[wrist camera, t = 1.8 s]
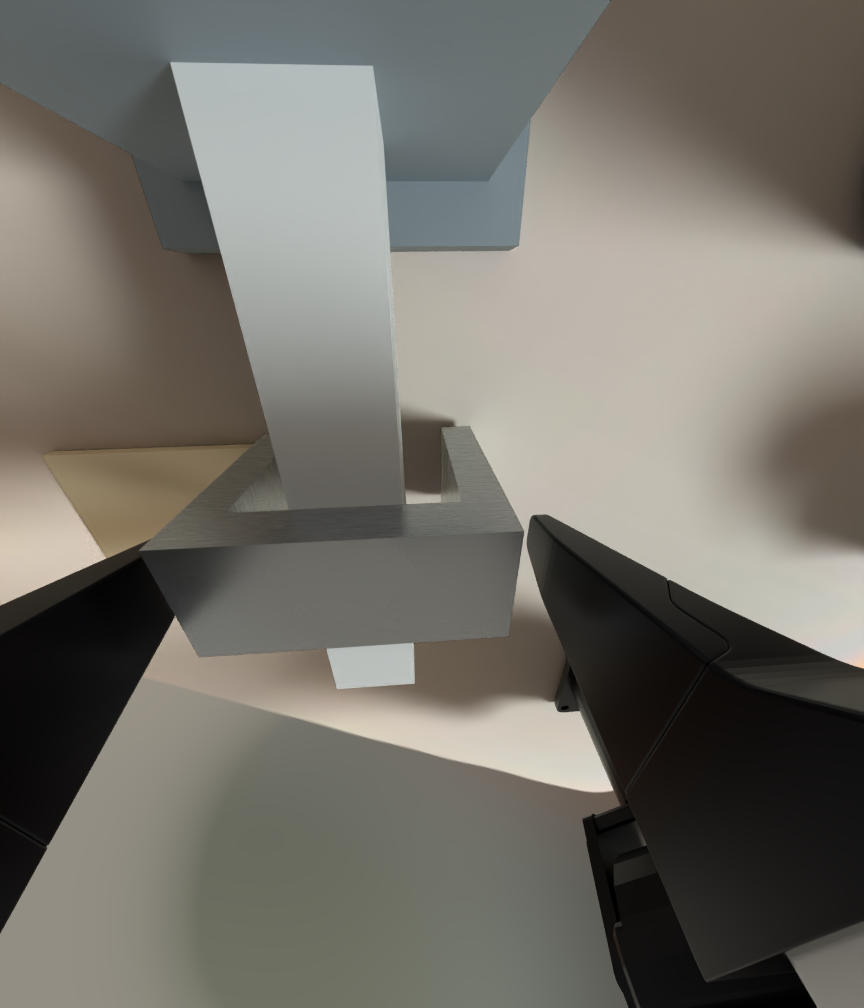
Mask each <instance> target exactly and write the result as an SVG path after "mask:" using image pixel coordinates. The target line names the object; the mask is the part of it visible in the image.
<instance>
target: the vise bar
mask: <svg viewBox="0 0 864 1008" xmlns="http://www.w3.org/2000/svg"><path fill="white" fill-rule="evenodd" d="M610 1H611V0H0V83H1V84H3V85H5V86H7V87H8V88H10V89H12V90H14V91H16V92H18V93H19V94H21V95H23V96H25V97H27V98H29V99H30V100H32V101H34V102H36V103H38V104H40V105H41V106H43V107H45V108H47V109H49V110H51V111H52V112H54V113H56V114H58V115H60V116H62V117H64V118H65V119H67V120H69V121H71V122H73V123H75V124H76V125H78V126H80V127H82V128H84V129H86V130H87V131H89V132H91V133H93V134H95V135H97V136H98V137H100V138H102V139H104V140H106V141H108V142H109V143H111V144H113V145H115V146H117V147H119V148H121V149H122V150H124V151H126V152H128V153H130V154H131V155H132V158H133V161H134V164H135V167H136V170H137V173H138V176H139V179H140V182H141V185H142V188H143V191H144V194H145V197H146V200H147V203H148V206H149V209H150V212H151V215H152V218H153V221H154V224H155V227H156V230H157V233H158V236H159V239H160V242H161V245H162V248H163V249H167V250H171V251H176V252H180V253H185V254H196V253H221V255H222V259H223V263H224V267H225V270H226V274H227V278H228V282H229V285H230V289H231V293H232V297H233V300H234V304H235V308H236V312H237V315H238V319H239V323H240V327H241V330H242V334H243V338H244V342H245V345H246V349H247V353H248V357H249V360H250V364H251V368H252V372H253V376H254V379H255V383H256V387H257V391H258V394H259V398H260V402H261V406H262V409H263V413H264V417H265V421H266V424H267V428H268V432H269V436H270V439H271V443H272V447H273V451H274V454H275V458H276V462H277V466H278V469H279V473H280V477H281V481H282V484H283V488H284V492H285V496H286V499H287V503H288V507H289V510H295V509H317V508H338V507H360V506H381V505H403V504H406V497H405V481H404V464H403V448H402V432H401V416H400V400H399V384H398V368H397V352H396V335H395V319H394V303H393V287H392V271H391V255H390V252H408V251H509V250H511V249H513V248H515V247H517V246H519V239H520V228H521V217H522V206H523V196H524V185H525V174H526V163H527V152H528V141H529V130H530V119H531V118H532V116H533V115H534V113H535V112H536V110H537V109H538V107H539V106H540V104H541V103H542V101H543V100H544V98H545V97H546V95H547V94H548V93H549V91H550V90H551V88H552V87H553V85H554V84H555V82H556V81H557V79H558V78H559V76H560V75H561V73H562V72H563V70H564V69H565V67H566V66H567V65H568V63H569V62H570V60H571V59H572V57H573V56H574V54H575V53H576V51H577V50H578V48H579V47H580V45H581V44H582V42H583V41H584V39H585V38H586V36H587V35H588V34H589V32H590V31H591V29H592V28H593V26H594V25H595V23H596V22H597V20H598V19H599V17H600V16H601V14H602V13H603V11H604V10H605V8H606V7H607V6H608V4H609V3H610ZM326 650H327V653H328V657H329V661H330V665H331V668H332V672H333V676H334V680H335V683H336V687H337V689H347V688H361V687H374V686H388V685H402V684H415V672H414V643H405V644H390V645H375V646H360V647H345V648H330V649H326Z"/></svg>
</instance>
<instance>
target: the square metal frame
mask: <svg viewBox="0 0 864 1008" xmlns="http://www.w3.org/2000/svg"><path fill="white" fill-rule="evenodd" d="M523 536H524V530H523V528H522V526H521V524H520V522H519V520H518V518H517V516H516V514H515V512H514V510H513V509H512V507H511V505H510V503H509V501H508V499H507V497H506V495H505V493H504V491H503V489H502V487H501V486H500V484H499V482H498V480H497V478H496V476H495V474H494V472H493V470H492V468H491V466H490V464H489V463H488V461H487V459H486V457H485V455H484V453H483V451H482V449H481V447H480V445H479V443H478V441H477V440H476V438H475V436H474V434H473V432H472V430H471V428H470V426H460V427H441V503H424V504H403V505H381V506H360V507H338V508H317V509H295V510H289V507H288V503H287V499H286V496H285V492H284V488H283V484H282V481H281V477H280V473H279V469H278V466H277V462H276V458H275V454H274V451H273V447H272V443H271V439H270V436H269V433H265V434H264V435H263V436H262V437H261V438H260V439H259V440H258V441H256V442H255V443H254V444H253V445H252V446H251V447H250V448H249V449H248V450H247V451H246V452H245V453H243V454H242V455H241V456H240V457H239V458H238V459H237V460H236V461H235V462H234V463H233V464H232V465H231V466H229V467H228V468H227V469H226V470H225V471H224V472H223V473H222V474H221V475H220V476H219V477H218V478H216V479H215V480H214V481H213V482H212V483H211V484H210V485H209V486H208V487H207V488H206V489H205V490H204V491H202V492H201V493H200V494H199V495H198V496H197V497H196V498H195V499H194V500H193V501H192V502H191V503H189V504H188V505H187V506H186V507H185V508H184V509H183V510H182V511H181V512H180V513H179V514H178V515H177V516H175V517H174V518H173V519H172V520H171V521H170V522H169V523H168V524H167V525H166V526H165V527H164V528H162V529H161V530H160V531H159V532H158V533H157V534H156V535H155V536H154V537H153V538H152V539H151V540H150V541H148V542H147V543H146V544H145V545H144V546H143V547H142V548H141V549H140V550H139V553H140V555H141V556H142V558H143V560H144V562H145V563H146V565H147V567H148V569H149V570H150V572H151V574H152V576H153V577H154V579H155V581H156V583H157V584H158V586H159V588H160V590H161V591H162V593H163V595H164V597H165V599H166V600H167V602H168V604H169V606H170V607H171V609H172V611H173V613H174V614H175V616H176V618H177V620H178V621H179V623H180V625H181V627H182V628H183V630H184V632H185V634H186V635H187V637H188V639H189V641H190V642H191V644H192V646H193V648H194V649H195V651H196V653H197V655H198V656H199V657H211V656H226V655H241V654H256V653H271V652H286V651H300V650H315V649H330V648H345V647H360V646H375V645H390V644H405V643H420V642H435V641H450V640H465V639H480V638H494V637H508V636H509V630H510V623H511V616H512V610H513V603H514V596H515V590H516V583H517V576H518V569H519V563H520V556H521V549H522V543H523Z"/></svg>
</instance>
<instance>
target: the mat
mask: <svg viewBox="0 0 864 1008" xmlns="http://www.w3.org/2000/svg"><path fill="white" fill-rule="evenodd" d="M252 445H253V444H239V445H212V446H184V447H157V448H130V449H103V450H76V451H51V452H49V453H47V454H44V455H42V458H43V460H44V461H45V463H46V464H47V466H48V467H49V469H50V470H51V472H52V474H53V475H54V477H55V478H56V480H57V481H58V483H59V485H60V486H61V488H62V489H63V491H64V492H65V494H66V495H67V497H68V499H69V500H70V502H71V503H72V505H73V506H74V508H75V510H76V511H77V513H78V514H79V516H80V517H81V519H82V521H83V522H84V524H85V525H86V527H87V528H88V530H89V531H90V533H91V535H92V536H93V538H94V539H95V541H96V542H97V544H98V546H99V547H100V549H101V550H102V552H103V553H104V555H105V556H106V558H109V557H111V556H113V555H116V554H118V553H120V552H122V551H125V550H127V549H129V548H131V547H134V546H136V545H138V544H140V543H143V542H145V541H147V540H149V539H152V538H153V537H154V536H155V535H156V534H157V533H158V532H159V531H160V530H161V529H162V528H164V527H165V526H166V525H167V524H168V523H169V522H170V521H171V520H172V519H173V518H174V517H175V516H177V515H178V514H179V513H180V512H181V511H182V510H183V509H184V508H185V507H186V506H187V505H188V504H189V503H191V502H192V501H193V500H194V499H195V498H196V497H197V496H198V495H199V494H200V493H201V492H202V491H204V490H205V489H206V488H207V487H208V486H209V485H210V484H211V483H212V482H213V481H214V480H215V479H216V478H218V477H219V476H220V475H221V474H222V473H223V472H224V471H225V470H226V469H227V468H228V467H229V466H231V465H232V464H233V463H234V462H235V461H236V460H237V459H238V458H239V457H240V456H241V455H242V454H243V453H245V452H246V451H247V450H248V449H249V448H250V447H251V446H252ZM174 618H176V616H175V617H174Z"/></svg>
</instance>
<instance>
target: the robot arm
mask: <svg viewBox="0 0 864 1008" xmlns="http://www.w3.org/2000/svg"><path fill="white" fill-rule="evenodd" d="M150 540H151V539H149V540H147V541H145V542H143V543H140V544H138V545H136V546H134V547H131V548H129V549H127V550H125V551H122V552H120V553H118V554H116V555H113V556H111V557H109V558H107V559H104V560H102V561H100V562H98V563H95V564H93V565H91V566H89V567H86V568H84V569H82V570H80V571H77V572H75V573H73V574H71V575H68V576H66V577H64V578H62V579H59V580H57V581H55V582H53V583H50V584H48V585H46V586H43V587H41V588H39V589H37V590H34V591H32V592H30V593H28V594H25V595H23V596H21V597H19V598H16V599H14V600H12V601H10V602H7V603H5V604H3V605H1V606H0V933H1V931H2V929H3V928H4V926H5V924H6V922H7V920H8V919H9V917H10V915H11V913H12V911H13V910H14V908H15V906H16V904H17V902H18V901H19V899H20V897H21V895H22V893H23V891H24V890H25V888H26V886H27V884H28V882H29V880H30V879H31V877H32V875H33V873H34V872H35V870H36V868H37V866H38V864H39V863H40V860H41V859H42V857H43V855H44V853H45V852H46V850H47V847H46V846H47V845H49V843H50V842H51V840H52V838H53V836H54V835H55V833H56V831H57V829H58V827H59V825H60V824H61V822H62V820H63V818H64V817H65V815H66V813H67V811H68V809H69V807H70V806H71V804H72V802H73V800H74V799H75V797H76V795H77V793H78V791H79V789H80V787H81V786H82V784H83V782H84V780H85V779H86V777H87V775H88V773H89V771H90V770H91V768H92V766H93V764H94V762H95V761H96V759H97V757H98V755H99V753H100V752H101V750H102V748H103V746H104V744H105V742H106V741H107V739H108V737H109V735H110V733H111V732H112V730H113V728H114V726H115V724H116V722H117V721H118V719H119V717H120V715H121V714H122V712H123V710H124V708H125V706H126V705H127V703H128V701H129V699H130V697H131V695H132V694H133V692H134V690H135V688H136V686H137V685H138V683H139V681H140V679H141V677H142V676H143V674H144V672H145V670H146V668H147V667H148V665H149V663H150V661H151V659H152V658H153V656H154V654H155V652H156V650H157V648H158V647H159V645H160V643H161V641H162V639H163V638H164V636H165V634H166V632H167V630H168V629H169V627H170V625H171V623H172V621H173V619H174V617H175V614H174V613H173V611H172V609H171V607H170V606H169V604H168V602H167V600H166V599H165V597H164V595H163V593H162V591H161V590H160V588H159V586H158V584H157V583H156V581H155V579H154V577H153V576H152V574H151V572H150V570H149V569H148V567H147V565H146V563H145V562H144V560H143V558H142V556H141V555H140V553H139V550H140V549H141V548H142V547H143V546H144V545H145V544H146V543H147V542H148V541H150ZM527 549H528V553H529V556H530V560H531V563H532V567H533V570H534V574H535V577H536V580H537V584H538V587H539V591H540V594H541V597H542V599H543V602H544V605H545V607H546V609H547V612H548V614H549V616H550V619H551V621H552V623H553V626H554V628H555V630H556V633H557V635H558V637H559V640H560V642H561V645H562V647H563V649H564V652H565V654H566V656H567V662H566V666H565V669H564V672H563V676H562V679H561V682H560V686H559V689H558V693H557V696H556V699H555V706H556V708H557V711H559V712H573V711H580V712H581V715H582V717H583V719H584V722H585V724H586V727H587V729H588V731H589V734H590V736H591V738H592V741H593V743H594V745H595V748H596V750H597V752H598V755H599V757H600V759H601V762H602V764H603V766H604V769H605V771H606V773H607V776H608V778H609V780H610V783H611V785H612V787H613V790H614V792H615V794H616V797H617V799H618V801H619V804H620V806H619V807H616V808H614V809H611V810H609V811H606V812H603V813H601V814H598V815H594V814H591V815H588V816H586V817H584V818H583V824H584V830H585V834H586V839H587V841H586V842H587V848H588V853H589V857H590V862H591V867H592V871H593V876H594V881H595V886H596V890H597V895H598V900H599V904H600V909H601V914H602V919H603V923H604V928H605V933H606V937H607V942H608V947H609V951H610V956H611V961H612V966H613V971H614V974H615V978H616V981H617V983H618V985H619V987H620V989H621V991H622V992H623V994H624V997H625V999H626V1002H627V1005H628V1007H629V1008H864V669H863V668H859V667H856V666H853V665H850V664H847V663H844V662H841V661H839V660H836V659H834V658H832V657H829V656H827V655H825V654H822V653H820V652H818V651H816V650H814V649H812V648H809V647H807V646H805V645H803V644H801V643H799V642H797V641H794V640H792V639H790V638H788V637H786V636H784V635H782V634H779V633H777V632H775V631H773V630H771V629H769V628H766V627H764V626H762V625H760V624H758V623H756V622H754V621H751V620H749V619H747V618H745V617H743V616H741V615H739V614H737V613H734V612H732V611H730V610H728V609H726V608H724V607H722V606H720V605H718V604H716V603H714V602H712V601H710V600H708V599H706V598H704V597H702V596H700V595H698V594H696V593H694V592H692V591H690V590H688V589H686V588H684V587H682V586H681V585H679V584H677V583H675V582H673V581H671V580H668V581H667V578H666V577H664V576H662V575H660V574H658V573H656V572H654V571H652V570H650V569H649V568H647V567H645V566H643V565H641V564H639V563H637V562H635V561H634V560H632V559H630V558H628V557H626V556H624V555H622V554H620V553H619V552H617V551H615V550H613V549H611V548H609V547H607V546H605V545H603V544H602V543H600V542H598V541H596V540H594V539H592V538H590V537H588V536H587V535H585V534H583V533H581V532H579V531H577V530H575V529H573V528H572V527H570V526H568V525H566V524H564V523H562V522H560V521H558V520H556V519H555V518H553V517H551V516H549V515H533V516H532V517H531V519H530V523H529V529H528V536H527Z"/></svg>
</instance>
